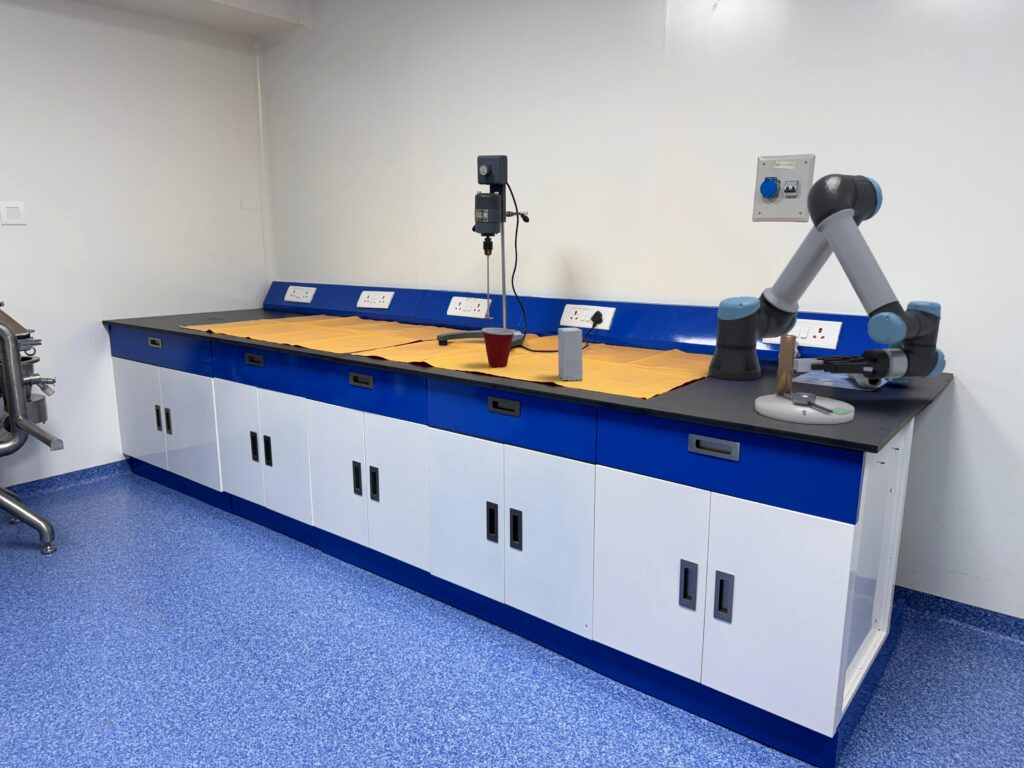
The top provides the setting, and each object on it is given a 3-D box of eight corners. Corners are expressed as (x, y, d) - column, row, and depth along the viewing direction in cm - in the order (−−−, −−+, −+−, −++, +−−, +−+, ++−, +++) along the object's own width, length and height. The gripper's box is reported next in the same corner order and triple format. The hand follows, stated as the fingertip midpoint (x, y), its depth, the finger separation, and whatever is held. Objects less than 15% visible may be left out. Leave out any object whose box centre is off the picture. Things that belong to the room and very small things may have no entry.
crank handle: (840, 413, 158) (847, 347, 155) (820, 414, 157) (827, 348, 154) (788, 392, 178) (793, 334, 175) (770, 393, 178) (775, 334, 174)
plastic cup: (508, 370, 219) (508, 332, 217) (476, 367, 223) (476, 330, 221) (520, 364, 229) (520, 328, 227) (489, 362, 233) (489, 326, 231)
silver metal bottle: (865, 378, 209) (887, 392, 190) (840, 377, 210) (860, 391, 191) (867, 356, 208) (889, 369, 188) (843, 356, 209) (862, 368, 190)
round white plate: (752, 418, 162) (753, 409, 162) (756, 398, 182) (757, 390, 182) (857, 428, 154) (858, 418, 154) (850, 406, 174) (851, 397, 174)
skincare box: (582, 380, 204) (584, 330, 201) (562, 381, 203) (563, 330, 200) (576, 375, 212) (577, 326, 209) (556, 375, 211) (557, 326, 208)
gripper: (899, 384, 171) (809, 386, 168) (861, 372, 185) (778, 374, 182) (903, 354, 169) (812, 355, 166) (865, 344, 184) (780, 345, 181)
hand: (794, 365), depth 174 cm, fingers open, 2 cm apart
